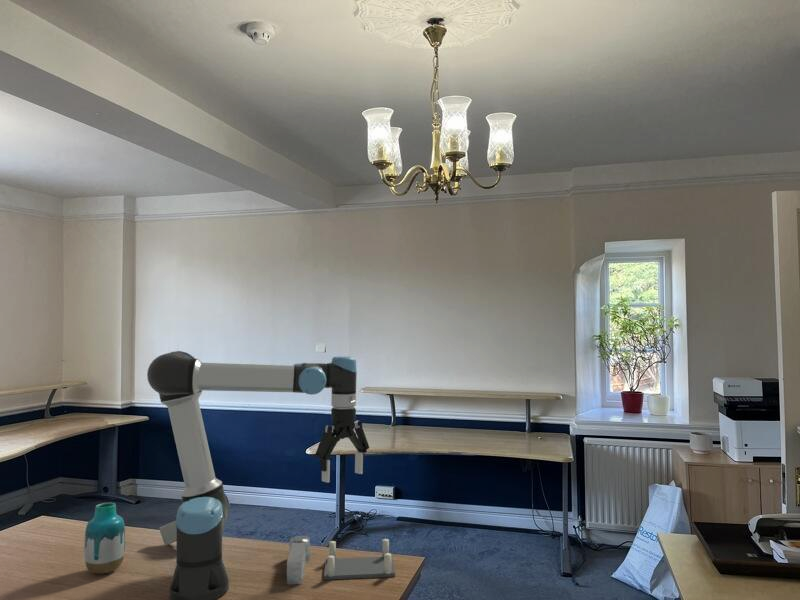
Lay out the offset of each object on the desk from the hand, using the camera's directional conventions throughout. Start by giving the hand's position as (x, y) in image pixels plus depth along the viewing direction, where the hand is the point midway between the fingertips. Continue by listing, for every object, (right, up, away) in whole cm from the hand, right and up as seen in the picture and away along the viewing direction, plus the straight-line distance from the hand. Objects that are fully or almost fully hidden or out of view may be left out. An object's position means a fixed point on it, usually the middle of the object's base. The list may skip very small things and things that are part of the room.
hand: (342, 477), depth 177 cm
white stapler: (-59, -25, +12) cm, 65 cm away
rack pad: (+6, -24, -8) cm, 26 cm away
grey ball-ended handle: (-12, -25, -7) cm, 28 cm away
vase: (-69, -25, -8) cm, 74 cm away
